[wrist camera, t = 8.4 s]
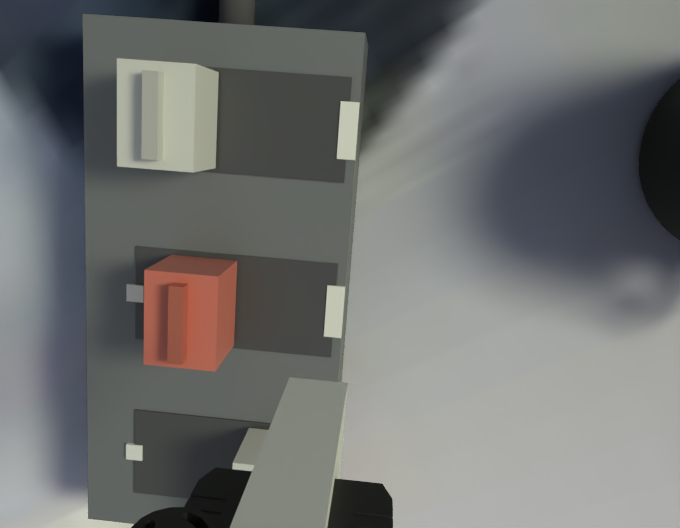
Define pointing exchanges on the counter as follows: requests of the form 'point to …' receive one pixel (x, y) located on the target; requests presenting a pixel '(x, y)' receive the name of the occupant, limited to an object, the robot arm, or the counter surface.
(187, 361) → the slider
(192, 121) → the slider
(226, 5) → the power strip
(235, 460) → the slider
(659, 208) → the mug
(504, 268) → the counter surface
